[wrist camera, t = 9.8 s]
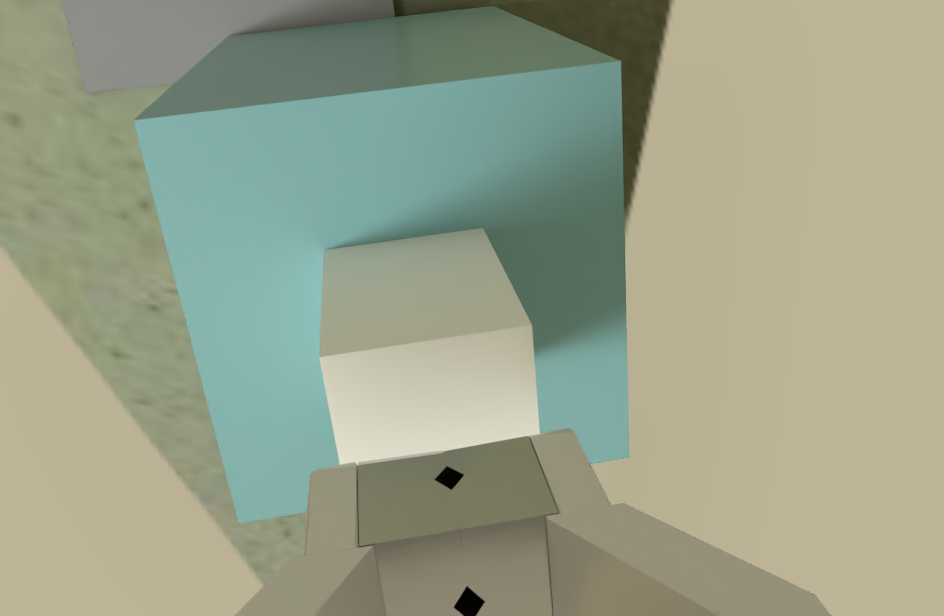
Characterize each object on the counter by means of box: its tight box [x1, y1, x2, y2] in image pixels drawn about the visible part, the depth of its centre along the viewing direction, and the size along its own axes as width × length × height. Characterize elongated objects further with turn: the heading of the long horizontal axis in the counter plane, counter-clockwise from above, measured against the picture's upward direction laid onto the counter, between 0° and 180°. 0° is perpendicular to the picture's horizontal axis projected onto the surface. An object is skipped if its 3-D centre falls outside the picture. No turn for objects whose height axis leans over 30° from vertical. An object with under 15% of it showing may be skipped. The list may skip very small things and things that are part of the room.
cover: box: [133, 6, 629, 523], centre depth 20 cm, size 8×8×18 cm
